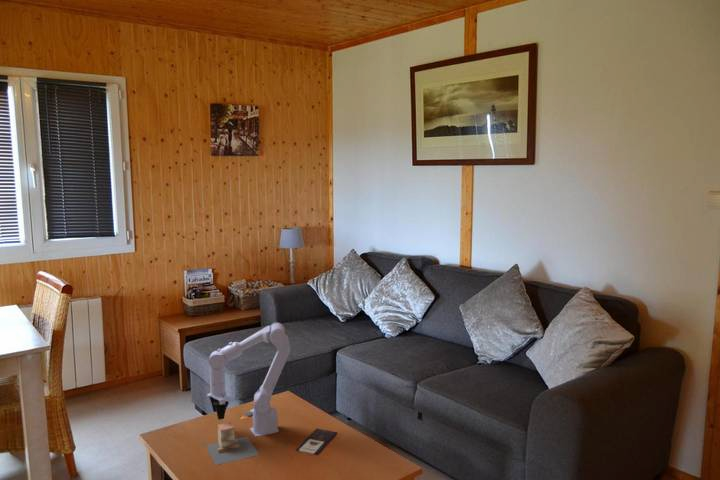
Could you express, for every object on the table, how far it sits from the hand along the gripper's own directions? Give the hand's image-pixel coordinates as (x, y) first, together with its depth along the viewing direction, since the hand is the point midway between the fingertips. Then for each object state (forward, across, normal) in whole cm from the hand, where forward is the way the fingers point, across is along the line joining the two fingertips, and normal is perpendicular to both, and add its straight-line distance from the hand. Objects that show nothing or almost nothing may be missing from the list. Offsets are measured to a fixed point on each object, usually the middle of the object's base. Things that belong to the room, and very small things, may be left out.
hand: (218, 415), depth 225 cm
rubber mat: (+8, +15, +1) cm, 17 cm away
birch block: (+8, +11, 0) cm, 13 cm away
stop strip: (+8, +14, 0) cm, 16 cm away
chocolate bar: (+9, +23, +32) cm, 40 cm away
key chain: (+9, -11, +14) cm, 20 cm away
